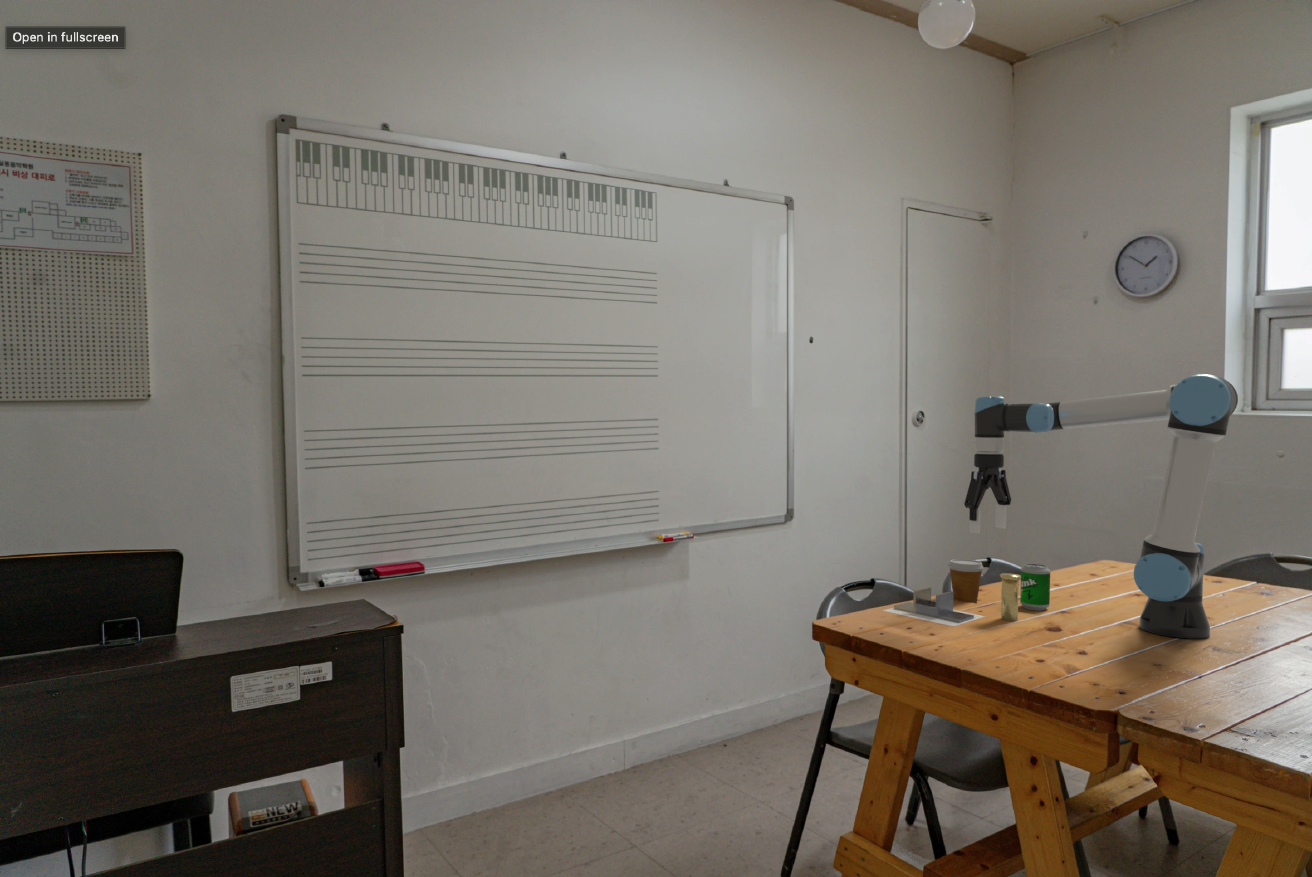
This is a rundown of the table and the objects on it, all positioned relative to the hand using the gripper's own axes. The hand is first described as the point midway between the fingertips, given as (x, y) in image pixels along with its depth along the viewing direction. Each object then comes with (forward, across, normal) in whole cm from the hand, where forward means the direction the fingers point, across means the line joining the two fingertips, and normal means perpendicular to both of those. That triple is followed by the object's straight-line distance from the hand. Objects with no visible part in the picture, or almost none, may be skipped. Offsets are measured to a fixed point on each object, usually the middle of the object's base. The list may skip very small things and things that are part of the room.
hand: (987, 530), depth 226 cm
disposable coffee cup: (+23, -6, -10) cm, 26 cm away
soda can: (+23, -16, +5) cm, 29 cm away
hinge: (+21, +17, -6) cm, 28 cm away
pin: (+23, +6, +10) cm, 26 cm away
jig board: (+23, +17, -6) cm, 29 cm away
